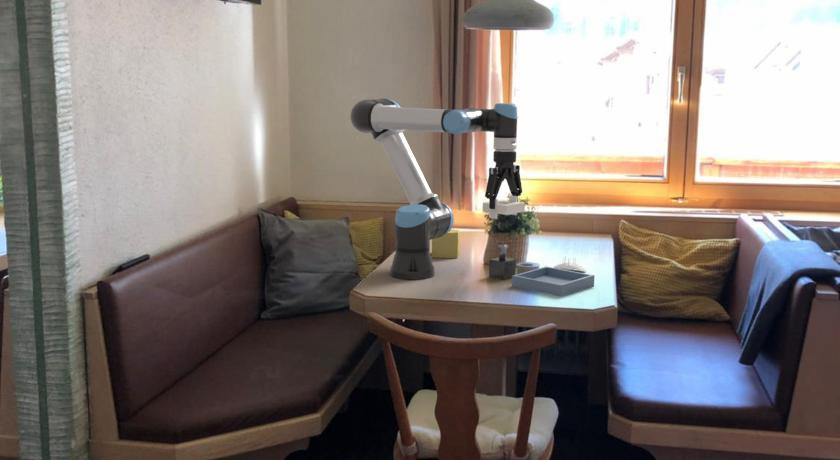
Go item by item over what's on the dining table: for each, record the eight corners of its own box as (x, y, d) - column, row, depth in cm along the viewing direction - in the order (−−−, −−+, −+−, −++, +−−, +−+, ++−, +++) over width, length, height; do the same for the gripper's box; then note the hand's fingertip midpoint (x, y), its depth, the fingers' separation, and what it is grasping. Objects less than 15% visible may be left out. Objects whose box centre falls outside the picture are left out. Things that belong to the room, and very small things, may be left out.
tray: (561, 296, 267) (561, 285, 266) (511, 286, 280) (512, 275, 279) (594, 285, 281) (594, 275, 280) (545, 276, 293) (545, 266, 293)
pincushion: (587, 270, 303) (588, 255, 302) (585, 274, 298) (586, 258, 297) (553, 268, 307) (553, 252, 306) (550, 272, 301) (551, 256, 300)
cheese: (459, 253, 332) (460, 227, 330) (458, 259, 321) (458, 232, 319) (433, 252, 333) (433, 227, 331) (430, 258, 322) (430, 232, 320)
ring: (506, 214, 282) (506, 205, 281) (477, 210, 290) (478, 202, 289) (524, 211, 289) (524, 202, 289) (496, 207, 297) (496, 199, 297)
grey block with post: (503, 279, 288) (504, 248, 286) (488, 276, 293) (489, 245, 291) (515, 276, 293) (516, 245, 291) (500, 273, 297) (501, 242, 295)
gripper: (492, 153, 275) (491, 222, 278) (534, 149, 291) (532, 214, 295) (474, 151, 280) (473, 219, 283) (516, 147, 296) (514, 211, 300)
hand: (503, 216), depth 289 cm, fingers closed on ring, 10 cm apart
